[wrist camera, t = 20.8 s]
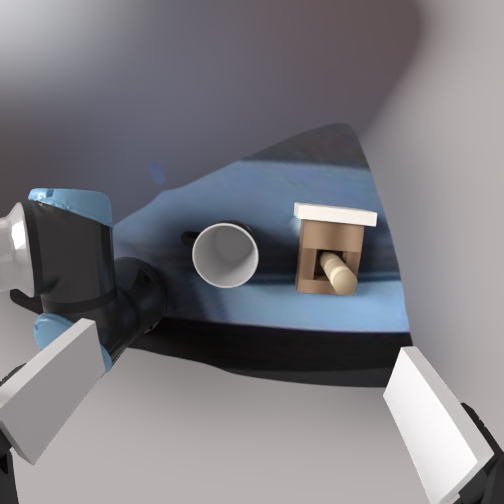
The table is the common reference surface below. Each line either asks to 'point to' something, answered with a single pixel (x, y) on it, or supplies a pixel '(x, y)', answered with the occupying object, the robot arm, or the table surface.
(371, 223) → the rail
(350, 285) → the dowel
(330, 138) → the table surface
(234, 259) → the mug
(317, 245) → the block
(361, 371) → the table surface
